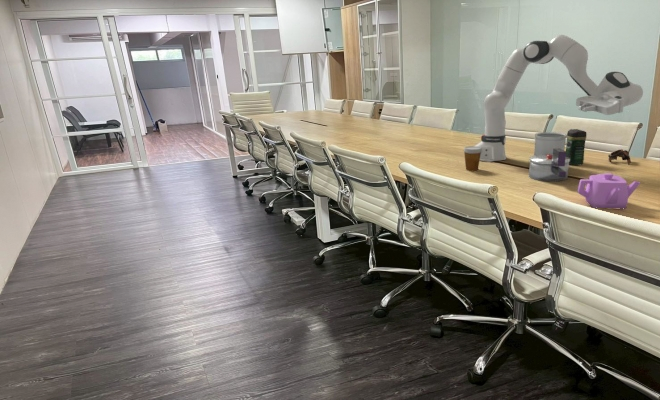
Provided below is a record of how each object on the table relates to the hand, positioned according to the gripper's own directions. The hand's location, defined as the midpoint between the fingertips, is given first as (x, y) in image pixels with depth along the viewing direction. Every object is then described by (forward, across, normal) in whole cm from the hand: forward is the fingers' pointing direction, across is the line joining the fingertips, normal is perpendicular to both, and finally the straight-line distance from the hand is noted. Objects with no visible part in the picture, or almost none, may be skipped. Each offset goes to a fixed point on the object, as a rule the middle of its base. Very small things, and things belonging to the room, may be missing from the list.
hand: (581, 109), depth 197 cm
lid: (+16, +1, +22) cm, 27 cm away
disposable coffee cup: (+40, -30, +31) cm, 59 cm away
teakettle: (+22, +42, +24) cm, 53 cm away
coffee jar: (-12, -18, +39) cm, 44 cm away
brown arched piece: (-34, -10, +41) cm, 54 cm away
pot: (+17, +2, +30) cm, 35 cm away
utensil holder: (+4, -18, +36) cm, 40 cm away
